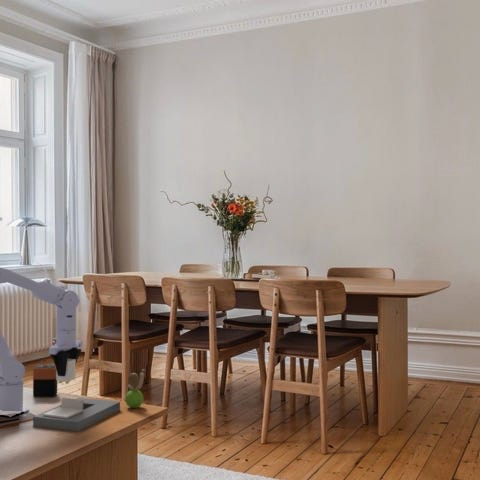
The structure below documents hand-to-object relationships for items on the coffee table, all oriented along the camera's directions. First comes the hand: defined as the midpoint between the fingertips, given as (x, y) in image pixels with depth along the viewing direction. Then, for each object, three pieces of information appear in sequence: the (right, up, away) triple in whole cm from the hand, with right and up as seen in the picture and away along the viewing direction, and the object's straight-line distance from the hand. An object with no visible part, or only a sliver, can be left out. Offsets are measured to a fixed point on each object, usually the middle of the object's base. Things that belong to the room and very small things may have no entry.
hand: (65, 374), depth 192 cm
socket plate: (+7, -10, -13) cm, 18 cm away
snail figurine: (+21, -10, -2) cm, 24 cm away
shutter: (+4, -7, -18) cm, 20 cm away
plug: (0, -2, 0) cm, 2 cm away
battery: (-10, -10, +12) cm, 18 cm away
